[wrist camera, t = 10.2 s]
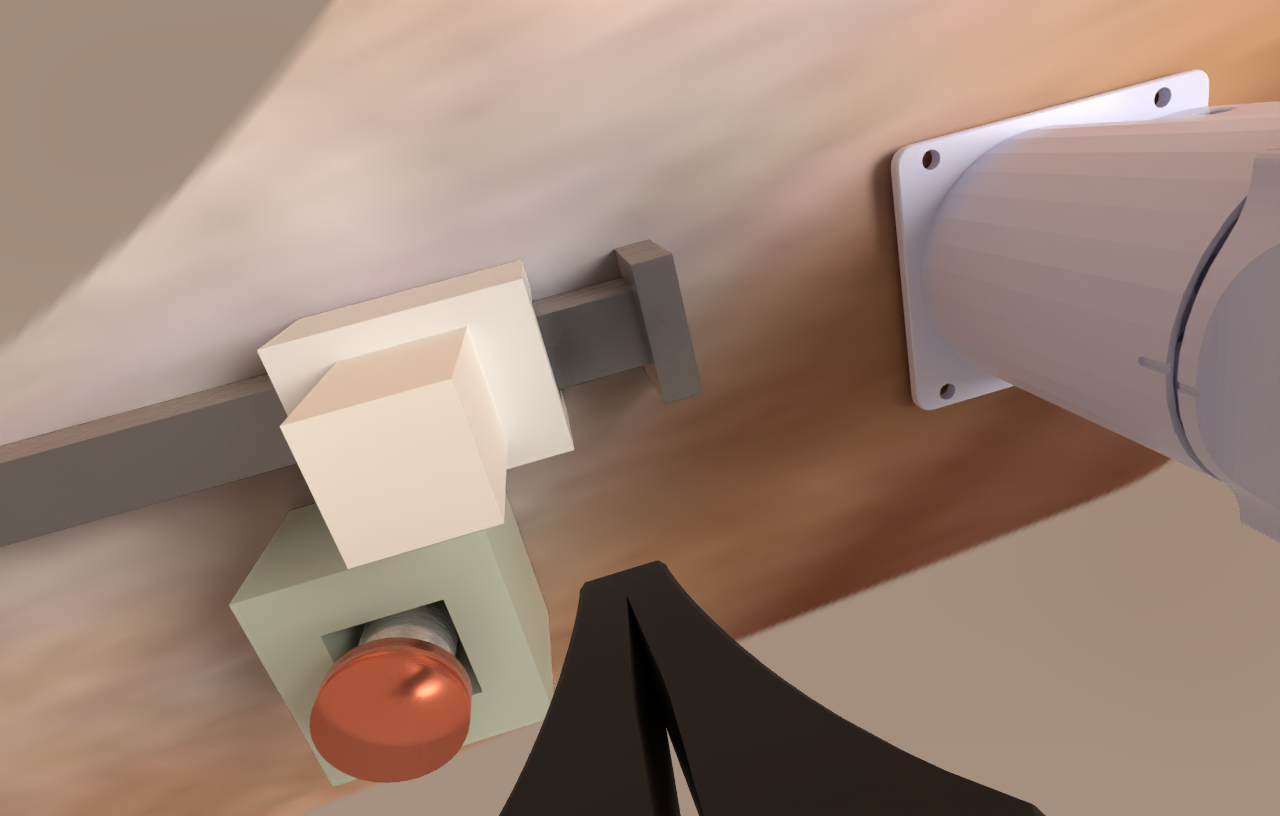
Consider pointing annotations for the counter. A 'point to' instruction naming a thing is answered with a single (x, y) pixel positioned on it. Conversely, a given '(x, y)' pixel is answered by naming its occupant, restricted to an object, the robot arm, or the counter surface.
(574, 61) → the counter surface
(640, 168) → the counter surface
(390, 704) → the red push knob
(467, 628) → the box
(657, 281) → the rail
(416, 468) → the carriage
